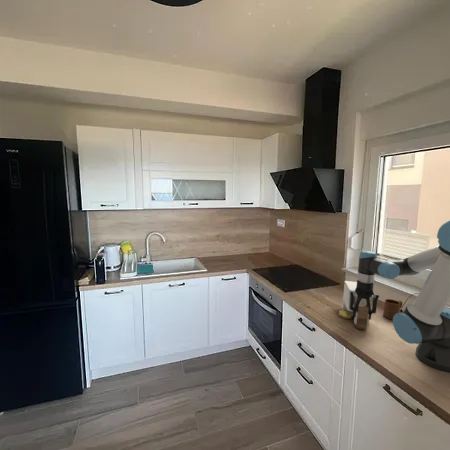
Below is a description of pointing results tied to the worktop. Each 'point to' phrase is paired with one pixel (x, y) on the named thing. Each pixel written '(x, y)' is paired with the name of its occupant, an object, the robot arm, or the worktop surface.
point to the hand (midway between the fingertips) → (360, 323)
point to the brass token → (345, 314)
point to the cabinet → (346, 296)
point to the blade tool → (362, 316)
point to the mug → (391, 308)
